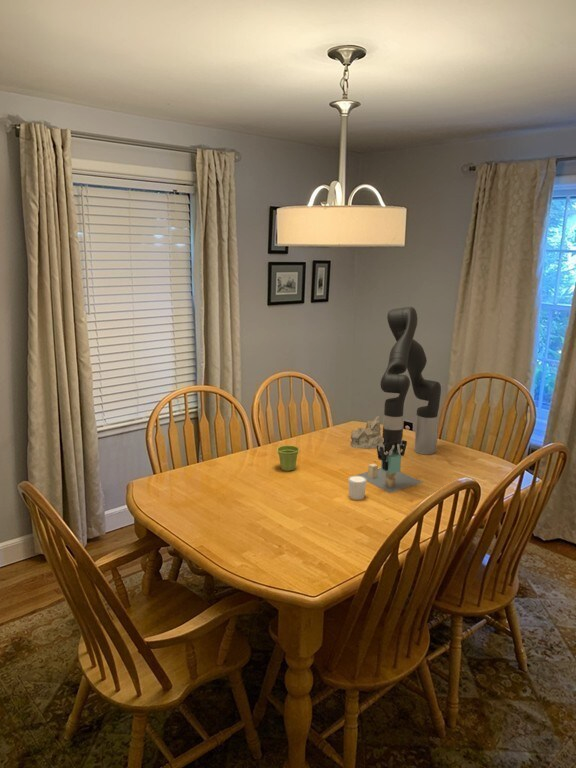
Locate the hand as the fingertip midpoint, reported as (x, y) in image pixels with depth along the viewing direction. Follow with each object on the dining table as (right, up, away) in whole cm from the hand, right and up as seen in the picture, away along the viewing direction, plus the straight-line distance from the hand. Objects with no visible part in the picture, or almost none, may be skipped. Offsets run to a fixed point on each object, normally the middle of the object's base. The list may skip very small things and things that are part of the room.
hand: (390, 468), depth 215 cm
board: (+1, -6, +8) cm, 10 cm away
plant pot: (-39, -3, +21) cm, 45 cm away
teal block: (0, -1, 0) cm, 1 cm away
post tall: (0, -8, +2) cm, 8 cm away
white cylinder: (-14, -10, -6) cm, 18 cm away
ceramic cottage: (-2, +4, +52) cm, 53 cm away
